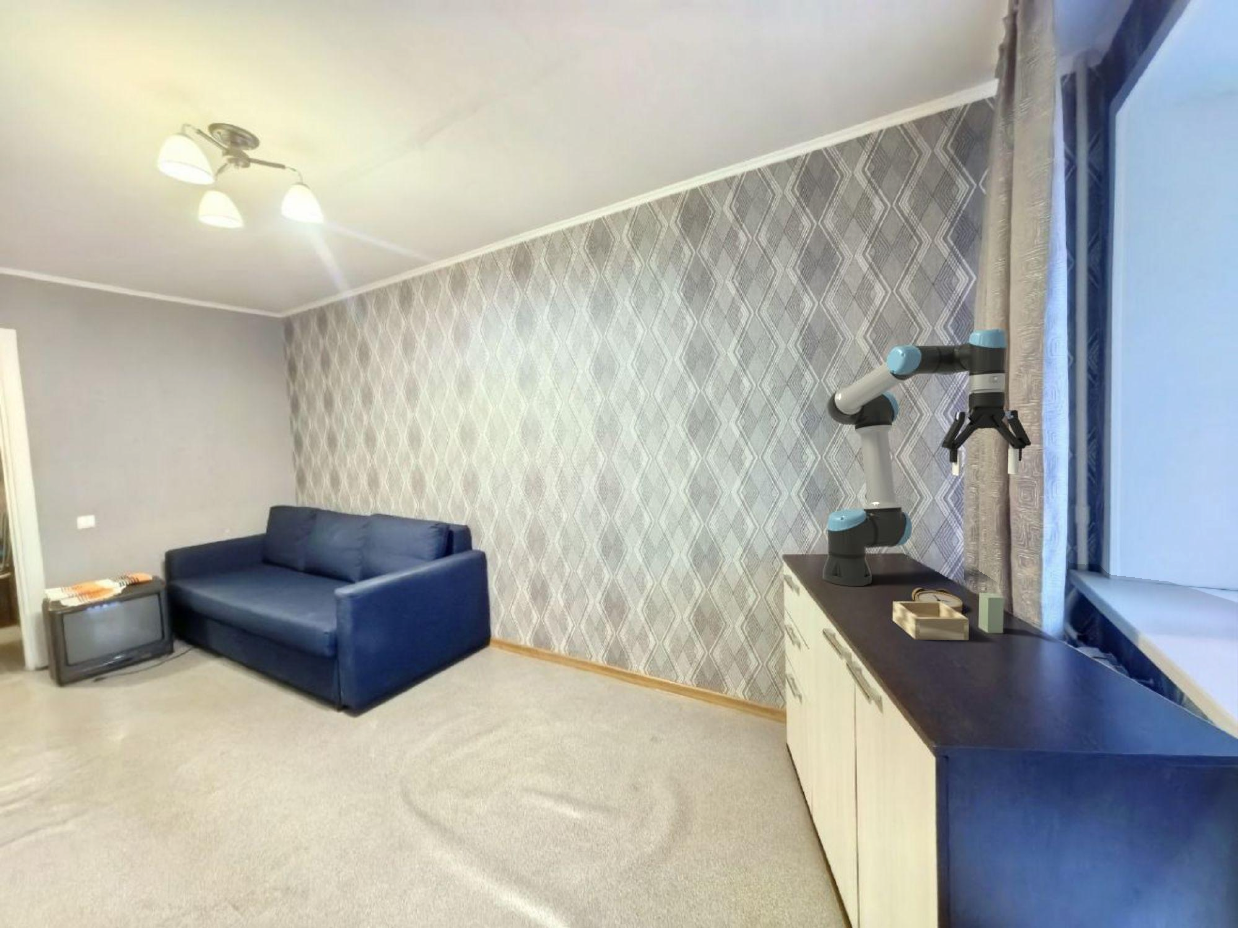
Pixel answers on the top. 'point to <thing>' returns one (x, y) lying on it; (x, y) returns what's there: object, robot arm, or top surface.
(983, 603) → the lid
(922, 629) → the box
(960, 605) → the alarm clock
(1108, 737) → the top surface
